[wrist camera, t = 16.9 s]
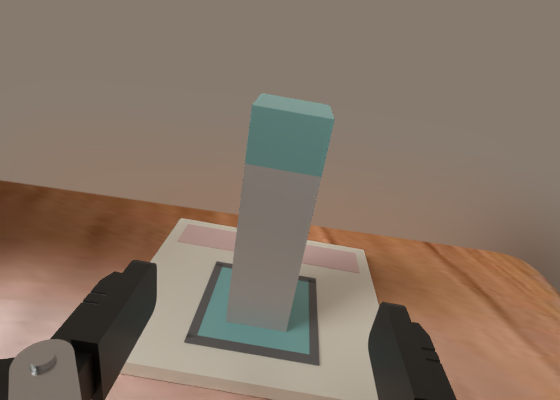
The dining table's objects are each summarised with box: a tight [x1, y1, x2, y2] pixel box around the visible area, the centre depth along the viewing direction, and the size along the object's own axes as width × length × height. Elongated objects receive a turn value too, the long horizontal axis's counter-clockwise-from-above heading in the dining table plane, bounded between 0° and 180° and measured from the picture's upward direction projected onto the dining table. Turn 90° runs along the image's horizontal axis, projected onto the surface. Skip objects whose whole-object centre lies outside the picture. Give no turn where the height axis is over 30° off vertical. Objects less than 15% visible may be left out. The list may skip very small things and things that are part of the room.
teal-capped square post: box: [226, 93, 334, 332], centre depth 21 cm, size 4×4×14 cm
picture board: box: [120, 218, 379, 400], centre depth 26 cm, size 18×16×1 cm
